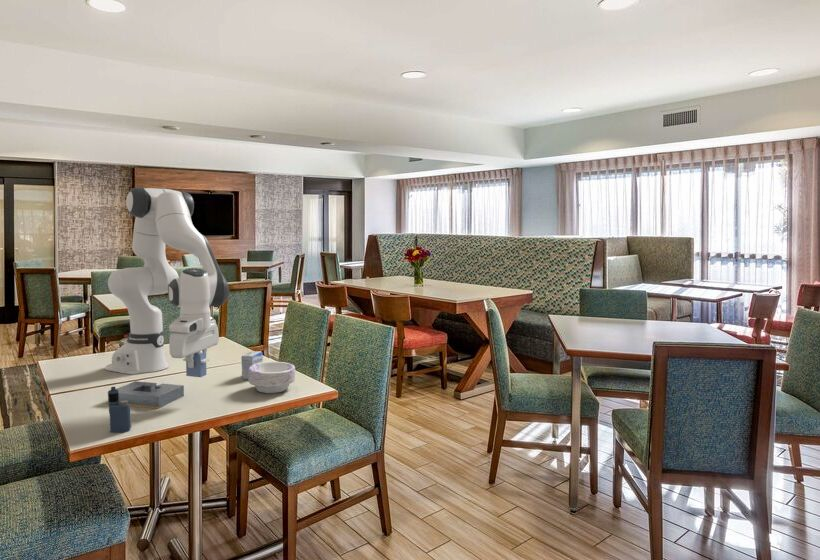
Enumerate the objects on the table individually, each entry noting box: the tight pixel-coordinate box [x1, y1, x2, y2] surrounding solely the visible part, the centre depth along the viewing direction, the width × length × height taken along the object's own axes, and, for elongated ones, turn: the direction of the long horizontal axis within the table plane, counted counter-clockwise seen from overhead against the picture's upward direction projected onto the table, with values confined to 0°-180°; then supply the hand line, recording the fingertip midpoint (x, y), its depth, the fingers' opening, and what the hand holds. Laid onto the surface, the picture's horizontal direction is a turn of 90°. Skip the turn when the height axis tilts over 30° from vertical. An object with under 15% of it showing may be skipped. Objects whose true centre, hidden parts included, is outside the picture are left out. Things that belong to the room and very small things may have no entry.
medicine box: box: [241, 350, 264, 381], centre depth 197 cm, size 8×4×9 cm, turn 168°
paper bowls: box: [248, 361, 296, 394], centre depth 183 cm, size 15×15×8 cm
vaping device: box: [107, 386, 132, 433], centre depth 145 cm, size 3×5×12 cm, turn 95°
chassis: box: [106, 380, 185, 409], centre depth 170 cm, size 18×13×4 cm
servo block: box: [182, 351, 210, 378], centre depth 168 cm, size 7×3×8 cm, turn 77°
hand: (196, 365), depth 168 cm, fingers closed on servo block, 3 cm apart
